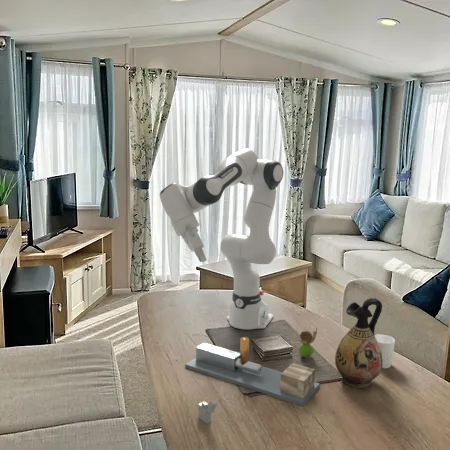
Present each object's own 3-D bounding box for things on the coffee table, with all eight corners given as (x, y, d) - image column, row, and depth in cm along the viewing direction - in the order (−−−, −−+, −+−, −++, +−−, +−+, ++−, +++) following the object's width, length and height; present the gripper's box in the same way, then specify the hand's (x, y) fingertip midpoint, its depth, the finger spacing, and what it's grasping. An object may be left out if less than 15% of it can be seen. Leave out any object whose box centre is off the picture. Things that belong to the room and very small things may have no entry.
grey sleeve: (203, 355, 183) (203, 342, 182) (241, 366, 175) (241, 353, 174) (196, 360, 179) (196, 347, 178) (233, 372, 171) (234, 359, 170)
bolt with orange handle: (204, 354, 182) (205, 325, 179) (261, 371, 169) (262, 341, 167) (199, 357, 179) (199, 328, 177) (257, 375, 167) (258, 344, 165)
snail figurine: (315, 361, 183) (317, 330, 180) (297, 359, 184) (299, 329, 181) (315, 354, 188) (317, 325, 185) (298, 352, 189) (300, 323, 187)
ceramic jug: (348, 396, 159) (354, 308, 153) (326, 373, 174) (331, 292, 168) (394, 389, 164) (402, 303, 158) (369, 368, 178) (375, 288, 172)
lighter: (198, 417, 146) (198, 392, 145) (202, 415, 147) (203, 390, 146) (212, 428, 141) (212, 403, 139) (217, 426, 142) (217, 401, 140)
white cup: (392, 361, 184) (395, 336, 182) (392, 371, 176) (394, 344, 174) (370, 357, 186) (372, 332, 184) (369, 367, 179) (371, 341, 177)
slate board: (207, 352, 188) (207, 349, 188) (319, 386, 165) (319, 383, 164) (185, 367, 176) (185, 364, 176) (302, 406, 153) (302, 402, 153)
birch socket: (291, 379, 167) (292, 363, 166) (314, 385, 163) (314, 369, 162) (280, 390, 159) (280, 374, 158) (303, 398, 155) (304, 381, 154)
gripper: (196, 220, 167) (214, 257, 167) (192, 224, 187) (208, 257, 187) (179, 228, 166) (197, 265, 166) (177, 232, 187) (193, 265, 186)
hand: (203, 261), depth 177 cm, fingers open, 8 cm apart
